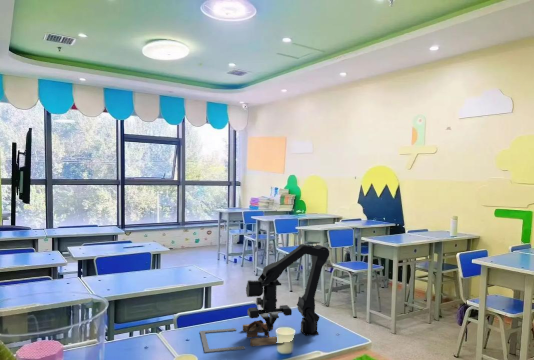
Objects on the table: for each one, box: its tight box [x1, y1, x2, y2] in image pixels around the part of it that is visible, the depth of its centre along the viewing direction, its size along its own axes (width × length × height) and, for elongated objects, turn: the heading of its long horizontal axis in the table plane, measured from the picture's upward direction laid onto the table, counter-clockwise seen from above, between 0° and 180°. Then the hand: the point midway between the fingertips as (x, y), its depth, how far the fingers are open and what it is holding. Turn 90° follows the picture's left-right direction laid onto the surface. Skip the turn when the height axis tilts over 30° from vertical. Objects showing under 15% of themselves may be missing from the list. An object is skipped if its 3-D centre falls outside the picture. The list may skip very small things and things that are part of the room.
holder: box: [242, 322, 277, 347], centre depth 163 cm, size 14×17×2 cm
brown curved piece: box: [245, 319, 271, 339], centre depth 161 cm, size 12×10×8 cm
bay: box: [199, 328, 246, 354], centre depth 158 cm, size 16×21×1 cm
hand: (269, 331), depth 163 cm, fingers closed
